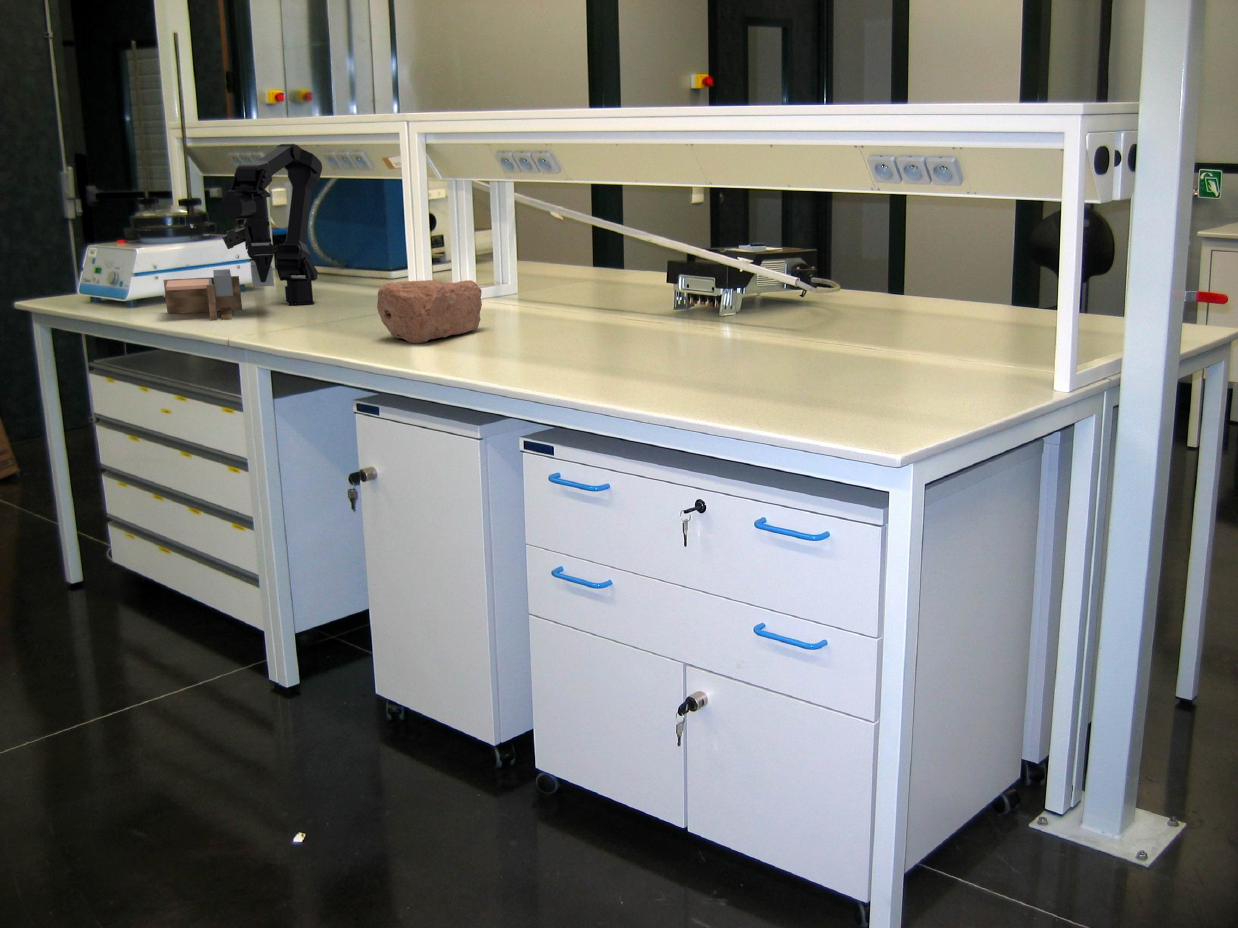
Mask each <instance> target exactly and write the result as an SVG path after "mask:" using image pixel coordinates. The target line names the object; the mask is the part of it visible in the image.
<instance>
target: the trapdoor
mask: <svg viewBox="0 0 1238 928" xmlns="http://www.w3.org/2000/svg"><path fill="white" fill-rule="evenodd" d="M212 271H213V273H212V274H213V277H214V284H215V293H216V297H217V296H233V289H232V280H231V276H232V273H231V270H230V268H228V269H224V268H223V269H213V270H212ZM207 285H212V279H211V278H209V279H190V280H170V281H167V285H166V290H184V289H203V288H207Z"/></svg>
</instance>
